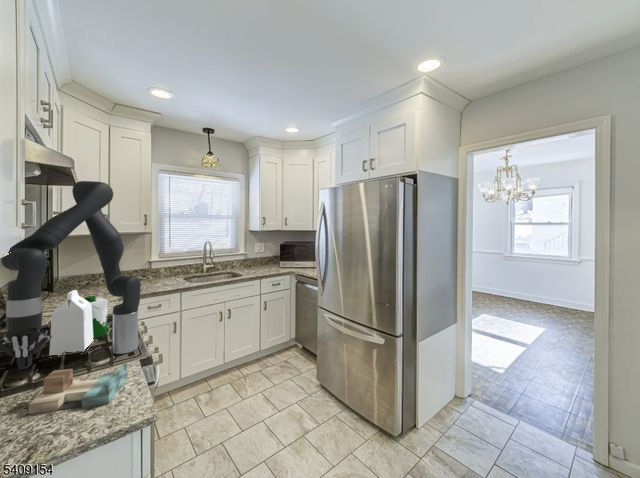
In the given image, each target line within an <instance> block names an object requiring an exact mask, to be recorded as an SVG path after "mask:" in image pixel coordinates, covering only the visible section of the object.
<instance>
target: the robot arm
mask: <svg viewBox="0 0 640 478" xmlns="http://www.w3.org/2000/svg"><path fill="white" fill-rule="evenodd" d="M71 191H72V196H73V199H74V201H75V203H76V204H75V205H73V206H71V207H70V208H68V209H66V210H64V211H62V212H59V213H57V214H56V215H54V216H52V217H51V218H49V219H48V220H46V221H45V222H44V223H43V224H42V225H41V226H40V227H38V228H37V229H36V230H35V231H34V232H33V233H32V234H31V235H29V236H27V237H25V238H24V239H21V240H20V241H19V242H17V243H14V245H12V246H11V247H9V248H10V250H9V252H8V253H9V255H7V256H5V257H3V256H2V257H3V258H2V257H1V264H2V267H4V268H6V269H7V270H10V271H18V272H17V276H16V278H15V279H13V280H12V279H11V280H10V281H9V282H8V285H7V302H6V306H5V307H6V308H5V309H6V310H5V315H6V316H5V317H6V318H5V319H6V321H5V322H6V323H5V329H6V330H7V332H6V333H5V337H3V338H1V339H0V349H1V350H2V351H3V352H4V353H5V354H7V355H8V356H9V357H12V356H13V357H15V358H16V366H17V368H18V369H19V370H23V369H27V368H29V367H30V366H31V365H32V364H33V355H34V354H36V353H38V352H40V351H41V350H42V349H43V347H45V345H46V344H47V343H48V342H50V339H51V338H52V336H51V334H47V335H46V334H45V333H44V330H43V328H42V325H43V300H42V281H43V279H44V276H45V274H46V270H47V267H48V258H47V255H46V254H45V252H46V251H48V250H49V251H50V250H54V249H55V248H57V247H58V246H59V245H60V244H61V243H62V242H63V241H64V240H65V239H67V237H68V236H69V235H70V234H71V233H72V232H74V230H75V229H77V228H78V227H80V225H81V224H83V223H84V222H85V224H86V227H87V229H88V231H89V234H90V236H91V239H92V243H93V246H94V248H95V252H96V254H97V256H98V259H99V262H100V264H101V268H102V272H103V274H104V280H105V283H106V288H107V292H108V293H109V295H111V296H112V297H118V298H119V297H120V298H121V297H122V303H119V304H116V305H114V306H113V308H112V353H113V354H115V355H123V354H129V353H131V352H134V351H135V350H137V349H138V348H139V306H140V302H141V289H142V286H141V280H140V279H139V277H137V276H133V275H123V273H122V271H121V268H120V262H121V260H122V258H123V253H124V251H125V248H124V247H125V246H124V244H123V239H122V236H121V234H120V232H119V230H118V229H117V228H116V227H115V226H114V225H113V224H112V223H111V222H110V221H109V220H108V218H106V216H105V215H104V213H103V211H102V209H103V208H104V207H106V206H107V205H109V204H110V203H111V202H112V200H113V198H114V191H113V188H112V187H111V186H110V185H109V183H105V182H102V181H92V180H91V181H89V180H80V181H77V182H75V183H74V184H73V186H72V190H71ZM10 252H11V253H10ZM37 341H38V343H37V344H36V342H37Z"/></svg>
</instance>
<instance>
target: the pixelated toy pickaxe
mask: <svg viewBox="0 0 640 478" xmlns="http://www.w3.org/2000/svg"><path fill="white" fill-rule="evenodd" d="M127 368H128V364H127V363H123V364H122V365H121V366H120V368H119V369H118V370H117V371H116V372H110V373H103V374H102V375H101V376H100V378H97V379H88V380H85V375H79V376H73V384H72V385H71V386H69V387H68V388H67V389H66V390H65V391H64V392H61V393H52V394H44V391H42V393H40V394H38V396H37V397H35V398H34V399H33V400H32V401H30V402H29V403H28V414H29V415H30V414H39V413H47V412H48V413H49V412H54V411H55V412H56V411H64V410H72V409H78V408H87V407H96V406H103V405H109V404H110V403H111V401H112V400H113V398H114V397H115V396H116V395H117V393H118V392H119V390H121V388H122V387H123V385H125V382H126V381H127V380H128V375H127V374H128V373H127V372H128V369H127Z"/></svg>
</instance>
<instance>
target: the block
mask: <svg viewBox="0 0 640 478" xmlns="http://www.w3.org/2000/svg"><path fill="white" fill-rule="evenodd" d="M73 371H74V369H73V368H66V369H56V370H55V369H54V370H53V371H52V372H50V373H49V374H48V375H46V376H45V377H44V378H43V381H42V382H43V392H44V394H52V393H61V392H64V391H65V390H66V389H67V388H68V387H69V386H71V385H72V384H73V377H74V373H73Z"/></svg>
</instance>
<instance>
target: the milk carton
mask: <svg viewBox="0 0 640 478" xmlns="http://www.w3.org/2000/svg"><path fill="white" fill-rule="evenodd" d="M84 299H85V300H87V301H88V302H90V303H91V305H92V321H93V338H94V339H97V338H101V336H102V337H105V336H107V335H108V303H109V300H108V299H106V298H104V297H97V298H96V295H92V296H91V295H90V296H85V297H84ZM106 334H107V335H106ZM104 335H105V336H104Z"/></svg>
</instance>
